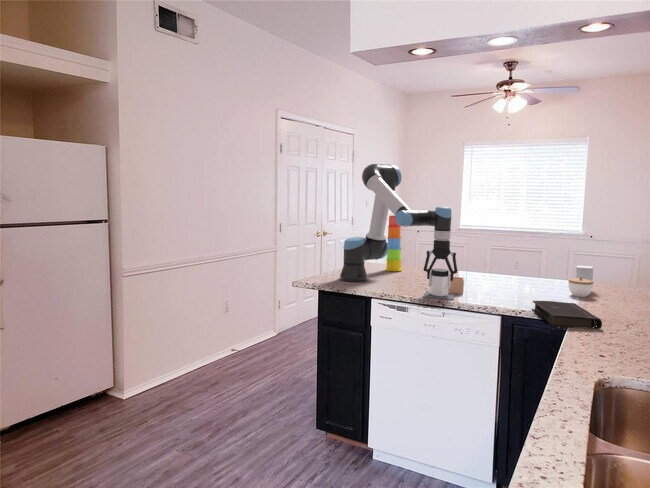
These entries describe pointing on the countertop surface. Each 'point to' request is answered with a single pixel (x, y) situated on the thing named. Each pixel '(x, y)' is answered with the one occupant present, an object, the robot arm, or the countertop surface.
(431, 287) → the jar
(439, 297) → the mat
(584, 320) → the diary
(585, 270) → the supplement box
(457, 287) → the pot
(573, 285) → the lidded jar
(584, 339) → the countertop surface
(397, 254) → the stacking cups
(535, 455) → the countertop surface
